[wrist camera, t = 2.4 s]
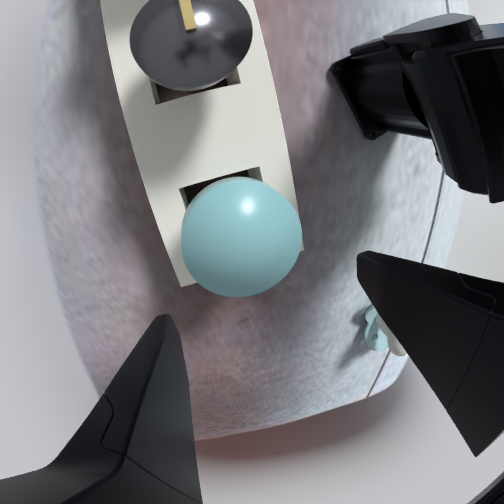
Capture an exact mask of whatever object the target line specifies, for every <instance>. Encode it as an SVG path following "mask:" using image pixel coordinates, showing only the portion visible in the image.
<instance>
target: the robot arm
mask: <svg viewBox="0 0 504 504" xmlns="http://www.w3.org/2000/svg"><path fill="white" fill-rule="evenodd" d="M350 54H351V55H350V56H347V57H345V58H343V59H341V60H338V61H336V62H334V63H333V64H332V65H331V71H332V73H333V75H334V76H335V78H336V80H337V82H338V84H339V86H340V87H341V89H342V91H343V93H344V95H345V97H346V99H347V101H348V103H349V105H350V107H351V109H352V111H353V113H354V115H355V117H356V119H357V121H358V123H359V125H360V128H361V130H362V132H363V134H364V136H365V138H366V139H368V140H375V139H376V138H378V137H379V136H381V135H383V134H384V133H386V132H387V131H388V132H394V133H400V134H406V135H411V136H417V137H422V138H426V139H431V140H432V141H433V144H434V147H435V150H436V153H435V154H436V157H437V161H438V162H439V163H441V165H442V167H443V169H444V171H445V173H446V175H448V176H449V177H450V178H451V179H453V180H454V181H455V182H457V183H458V187H459V188H460V189H463V190H465V191H468V192H471V193H475V194H481V195H489V201H490V203H498V202H502V201H504V23H500V24H489V25H478V23H477V20H476V18H475V17H474V16H471V15H464V14H457V13H449V14H445V15H440V16H435V17H431V18H427V19H424V20H421V21H418V22H416V23H413V24H410V25H408V26H405V27H403V28H400V29H398V30H396V31H393V32H391V33H389V34H386V35H384V36H383V37H382V38H378V39H375V40H371V41H369V42H366V43H364V44H361V45H359V46H356V47H354V48H351V49H350ZM336 66H339V68H340V71H338V70H337V68H336ZM370 131H371V132H372V135H371V136H370V134H369V133H370ZM357 278H358V281H359V283H360V285H361V286H362V288H363V289H364V291H365V293H366V294H367V296H368V298H369V299H370V301H371V303H372V304H373V306H374V308H375V309H376V311H377V313H378V314H379V316H380V317H381V318H382V320H383V321H384V323H385V324H386V325H387V327H388V328H389V329H390V331H391V332H392V333H393V335H394V336H395V337H396V339H397V340H398V341H399V343H400V344H401V345H402V347H403V348H404V350H405V351H406V352H407V354H408V355H409V357H410V358H411V359H412V361H413V362H414V364H415V365H416V366H417V368H418V369H419V371H420V372H421V373H422V375H423V376H424V378H425V379H426V381H427V382H428V384H429V385H430V387H431V388H432V390H433V391H434V392H435V394H436V395H437V397H438V398H439V400H440V402H441V403H442V405H443V406H444V408H445V409H446V411H447V413H448V414H449V416H450V417H451V419H452V420H453V422H454V424H455V425H456V427H457V428H458V430H459V431H460V433H461V435H462V436H463V438H464V440H465V441H466V443H467V445H468V446H469V448H470V450H471V451H472V453H473V455H474V456H475V457H477V456H478V455H479V454H480V453H482V452H483V451H484V450H485V449H486V448H487V447H488V446H489V445H491V444H492V443H493V442H494V441H495V440H496V439H497V438H498V437H499V436H500V435H501V434H502V433H503V432H504V283H503V282H497V281H492V280H488V279H483V278H479V277H474V276H470V275H466V274H462V273H457V272H455V271H450V270H446V269H443V268H439V267H435V266H431V265H427V264H423V263H419V262H415V261H411V260H407V259H402V258H398V257H394V256H390V255H386V254H381V253H377V252H373V251H365V252H362V253H359V254H358V255H357ZM104 393H105V394H103V395H102V396H101V398H100V399H99V401H98V402H97V404H96V405H95V407H94V408H93V410H92V411H91V413H90V414H89V415H88V417H87V418H86V419H85V421H84V422H83V423H82V425H81V426H80V428H79V429H78V430H77V431H76V433H75V434H74V435H73V437H72V438H71V439H70V440H69V442H68V443H67V444H66V446H65V447H64V449H63V450H62V451H61V452H60V453H59V455H58V456H57V457H56V458H55V460H53V461H52V462H51V463H50V464H49V465H47V466H46V467H44V468H42V469H39V470H36V471H32V472H29V473H25V474H21V475H18V476H14V477H10V478H5V479H1V480H0V504H203V502H202V496H201V490H200V483H199V477H198V469H197V462H196V453H195V445H194V436H193V426H192V416H191V405H190V393H189V382H188V376H187V370H186V365H185V360H184V355H183V349H182V344H181V338H180V335H179V332H178V330H177V328H176V326H175V324H174V322H173V320H172V318H171V316H170V315H169V314H163V315H159V316H156V317H155V319H154V320H153V321H152V323H151V324H150V326H149V327H148V328H147V330H146V331H145V333H144V334H143V336H142V337H141V339H140V340H139V341H138V343H137V344H136V346H135V347H134V349H133V350H132V352H131V353H130V354H129V356H128V357H127V359H126V360H125V362H124V363H123V365H122V366H121V368H120V369H119V371H118V372H117V374H116V375H115V377H114V378H113V380H112V381H111V383H110V384H109V386H108V387H107V389H106V390H105V392H104ZM467 504H504V472H503V473H502V474H501V475H500V476H499V477H498V478H496V479H495V480H494V481H493V482H492V483H491V484H490V485H489V486H488V487H487V488H485V489H484V490H483V491H482V492H481V493H480V494H478V495H477V496H476V497H475V498H474V499H472V500H471V501H470V502H469V503H467Z"/></svg>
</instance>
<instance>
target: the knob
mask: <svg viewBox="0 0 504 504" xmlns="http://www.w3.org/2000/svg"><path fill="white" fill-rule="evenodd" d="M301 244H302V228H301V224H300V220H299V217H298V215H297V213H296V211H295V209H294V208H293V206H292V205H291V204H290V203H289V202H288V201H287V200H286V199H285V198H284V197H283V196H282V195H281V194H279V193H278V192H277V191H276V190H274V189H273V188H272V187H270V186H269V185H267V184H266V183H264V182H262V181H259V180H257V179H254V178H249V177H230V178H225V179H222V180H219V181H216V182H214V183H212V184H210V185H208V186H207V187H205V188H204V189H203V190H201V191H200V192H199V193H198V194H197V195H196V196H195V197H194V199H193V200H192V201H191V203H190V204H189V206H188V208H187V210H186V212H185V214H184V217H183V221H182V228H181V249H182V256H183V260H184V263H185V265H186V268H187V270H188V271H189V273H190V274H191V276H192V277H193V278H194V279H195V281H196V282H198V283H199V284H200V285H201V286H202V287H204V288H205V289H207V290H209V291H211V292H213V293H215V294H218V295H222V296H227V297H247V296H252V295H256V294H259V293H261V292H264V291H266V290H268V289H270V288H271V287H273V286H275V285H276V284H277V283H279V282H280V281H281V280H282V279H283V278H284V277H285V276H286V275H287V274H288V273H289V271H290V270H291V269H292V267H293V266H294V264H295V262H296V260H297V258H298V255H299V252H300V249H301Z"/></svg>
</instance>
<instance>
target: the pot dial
mask: <svg viewBox="0 0 504 504" xmlns="http://www.w3.org/2000/svg"><path fill="white" fill-rule="evenodd" d="M252 36H253V27H252V21H251V18H250V15H249V13H248V11H247V9H246V8H245V7H244V5H243V4H242V3H241V2H240V1H239V0H149V1H148V2H147V3H146V4H145V5H144V6H143V7H142V8H141V10H140V11H139V12H138V14H137V15H136V17H135V19H134V21H133V24H132V27H131V30H130V40H129V42H130V49H131V52H132V55H133V57H134V59H135V61H136V63H137V64H138V66H139V67H140V68H141V69H142V71H143V72H144V73H145V74H146V75H147V76H148V77H149V78H150V79H151V80H152V81H154V82H155V83H157V84H159V85H161V86H163V87H165V88H168V89H172V90H178V91H195V90H200V89H204V88H207V87H210V86H212V85H214V84H216V83H218V82H220V81H221V80H223V79H224V78H226V77H227V76H228V75H229V74H230V73H231V72H232V71H233V70H234V69H235V68H236V67H237V66H238V65H239V64H240V63H241V62H242V60H243V59H244V58H245V56H246V54H247V53H248V50H249V48H250V45H251V42H252Z"/></svg>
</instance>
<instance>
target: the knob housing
mask: <svg viewBox="0 0 504 504" xmlns="http://www.w3.org/2000/svg"><path fill="white" fill-rule="evenodd" d="M148 1H149V0H100V4H101V10H102V17H103V23H104V29H105V34H106V40H107V45H108V50H109V55H110V60H111V65H112V69H113V74H114V78H115V83H116V87H117V91H118V95H119V99H120V103H121V107H122V111H123V115H124V119H125V123H126V126H127V130H128V134H129V137H130V141H131V144H132V148H133V151H134V154H135V158H136V161H137V164H138V168H139V171H140V174H141V177H142V180H143V184H144V187H145V190H146V193H147V196H148V199H149V202H150V205H151V208H152V211H153V214H154V216H155V219H156V222H157V225H158V228H159V231H160V233H161V236H162V239H163V242H164V244H165V247H166V250H167V252H168V255H169V257H170V260H171V263H172V265H173V268H174V270H175V273H176V275H177V278H178V280H179V283H180V285H181V287H184V286H187V285H191V284H194V283H197V282H196V281H195V279H194V278H193V277H192V276H191V274H190V273H189V271H188V270H187V268H186V265H185V263H184V260H183V256H182V249H181V228H182V221H183V217H184V214H185V212H186V210H187V208H188V206H189V204H188V201H187V198H186V194H185V191H184V188H183V187H186V186H189V185H193V184H196V183H199V182H203V181H206V180H210V179H213V178H217V177H221V176H224V175H228V174H232V173H235V172H239V171H243V170H247V169H248V174H249V178H254V179H257V180H259V181H262V182H264V183H266V184H267V185H269V186H270V187H272V188H273V189H274V190H276V191H277V192H278V193H279V194H281V195H282V196H283V197H284V198H285V199H286V200H287V201H288V202H289V203H290V204H291V205H292V206H293V208H294V209H295V211H296V213H297V215H298V217H299V213H298V207H297V200H296V194H295V188H294V183H293V177H292V171H291V166H290V160H289V155H288V150H287V144H286V139H285V134H284V129H283V124H282V119H281V114H280V110H279V105H278V100H277V96H276V91H275V87H274V82H273V78H272V73H271V69H270V65H269V61H268V56H267V52H266V48H265V44H264V40H263V36H262V32H261V28H260V25H259V21H258V17H257V13H256V10H255V6H254V2H253V0H239V1H240V2H241V3H242V4H243V5H244V7H245V8H246V9H247V11H248V13H249V15H250V18H251V21H252V27H253V36H252V42H251V45H250V48H249V50H248V53H247V54H246V56H245V58H244V59H243V60H242V62H241V63H240V64H239V65H238V66H237V67H236V68H235V69H234V70H233V71H232V72H231V73H230V74H229V75H228V76H227V77H226V79H227V83H228V86H226V87H221V88H217V89H212V90H208V91H204V92H200V93H196V94H192V95H188V96H185V97H181V98H177V99H174V100H171V101H167V102H164V103H161V104H160V100H159V96H158V92H157V88H156V84H155V82H154V81H152V80H151V79H150V78H149V77H148V76H147V75H146V74H145V73H144V72H143V71H142V69H141V68H140V67H139V66H138V64H137V63H136V61H135V59H134V57H133V55H132V52H131V49H130V42H129V40H130V30H131V27H132V24H133V21H134V19H135V17H136V15H137V14H138V12H139V11H140V10H141V8H142V7H143V6H144V5H145V4H146V3H147V2H148ZM299 220H300V219H299ZM303 250H304V246H303V239H302V244H301V249H300V251H303Z"/></svg>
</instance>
